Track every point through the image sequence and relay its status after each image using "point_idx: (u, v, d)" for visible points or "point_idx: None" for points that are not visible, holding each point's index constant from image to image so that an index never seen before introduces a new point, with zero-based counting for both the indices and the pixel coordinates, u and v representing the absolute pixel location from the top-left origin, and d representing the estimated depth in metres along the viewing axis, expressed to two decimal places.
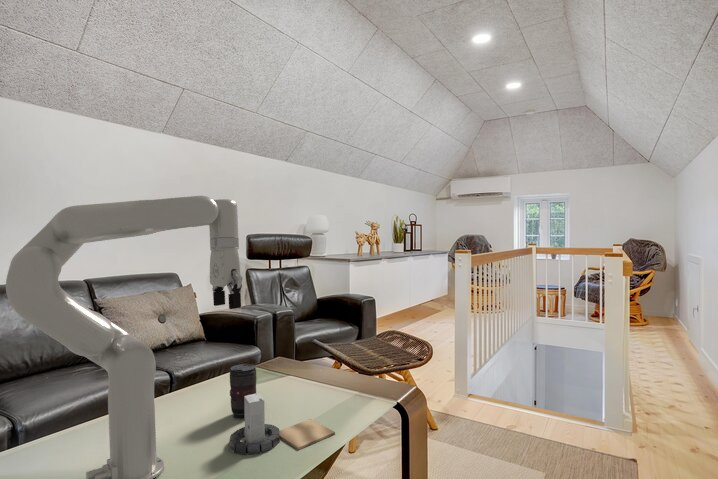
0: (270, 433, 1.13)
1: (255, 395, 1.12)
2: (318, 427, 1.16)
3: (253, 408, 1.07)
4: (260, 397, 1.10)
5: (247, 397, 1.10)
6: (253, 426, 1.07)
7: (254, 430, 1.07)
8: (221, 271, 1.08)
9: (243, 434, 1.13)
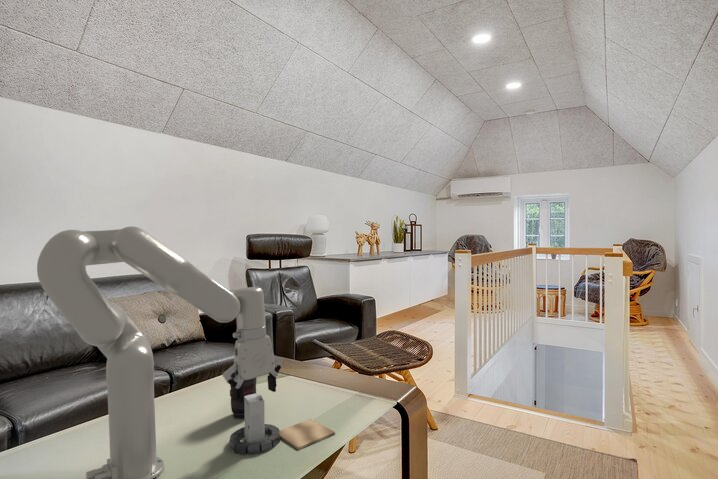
0: (270, 433, 1.13)
1: (255, 395, 1.12)
2: (318, 427, 1.16)
3: (253, 408, 1.07)
4: (260, 397, 1.10)
5: (247, 397, 1.10)
6: (253, 426, 1.07)
7: (254, 430, 1.07)
8: (269, 357, 1.11)
9: (243, 434, 1.13)
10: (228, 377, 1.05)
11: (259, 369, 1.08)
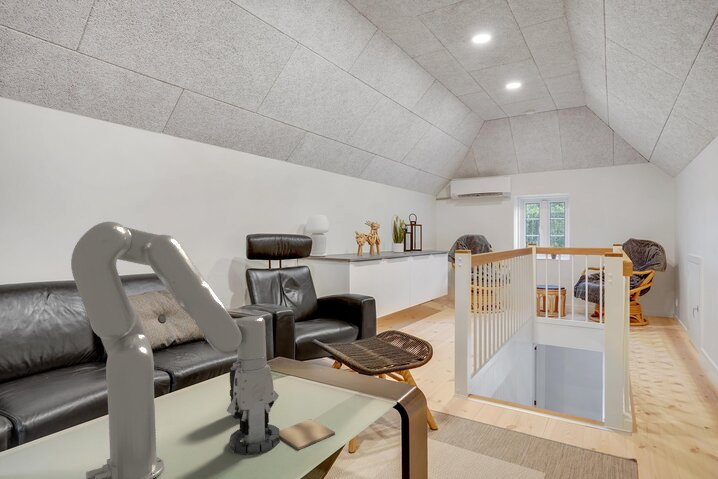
0: (270, 433, 1.13)
1: None
2: (318, 427, 1.16)
3: (253, 408, 1.07)
4: None
5: None
6: (253, 426, 1.07)
7: (254, 430, 1.07)
8: (269, 388, 1.10)
9: (243, 434, 1.13)
10: (233, 411, 1.06)
11: (258, 399, 1.08)
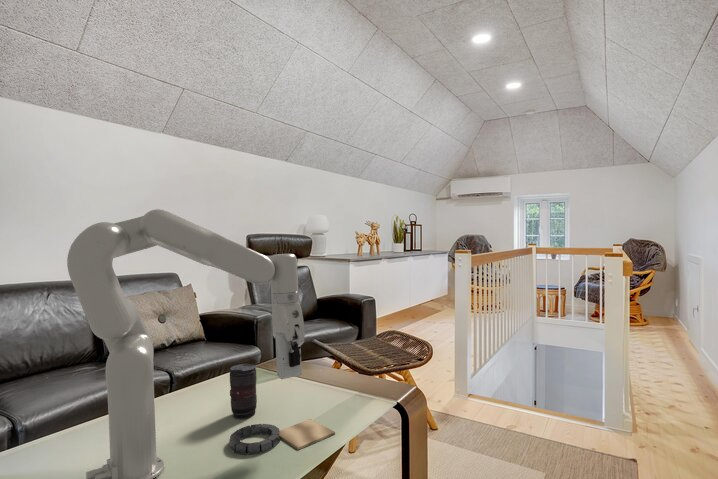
0: (270, 433, 1.13)
1: None
2: (318, 427, 1.16)
3: None
4: None
5: None
6: None
7: None
8: None
9: (243, 434, 1.13)
10: None
11: None
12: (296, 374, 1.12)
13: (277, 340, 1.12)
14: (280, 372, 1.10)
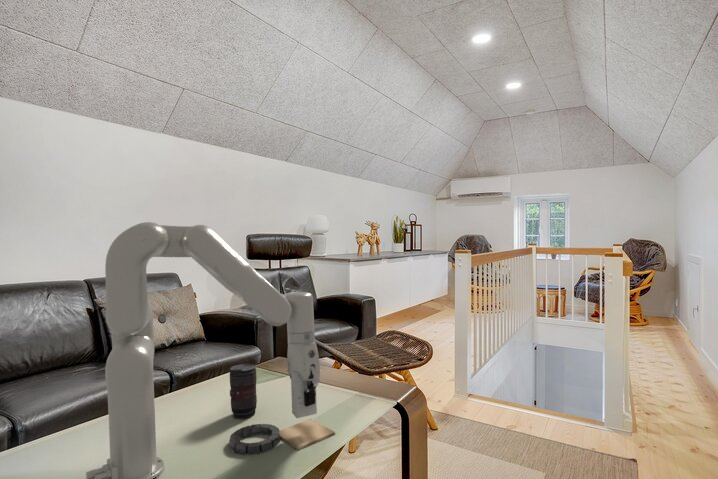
0: (270, 433, 1.13)
1: None
2: (318, 427, 1.16)
3: None
4: None
5: None
6: None
7: None
8: None
9: (243, 434, 1.13)
10: None
11: None
12: (311, 413, 1.12)
13: (293, 378, 1.13)
14: (295, 411, 1.11)
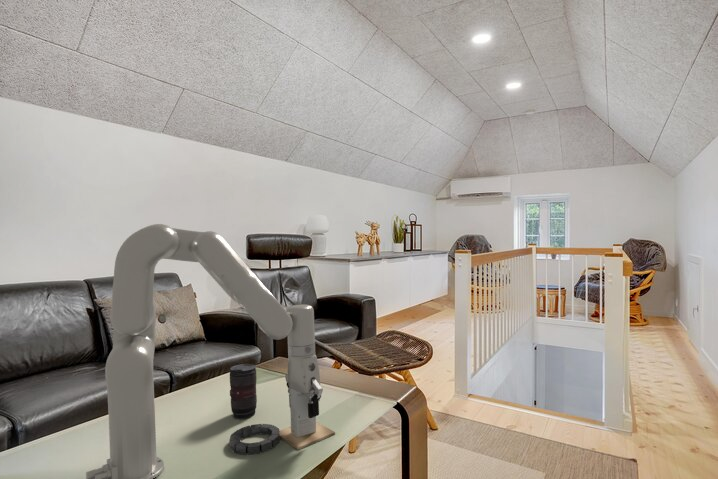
0: (270, 433, 1.13)
1: None
2: (318, 427, 1.16)
3: None
4: None
5: None
6: None
7: None
8: None
9: (243, 434, 1.13)
10: None
11: None
12: (311, 431, 1.13)
13: (292, 397, 1.12)
14: (295, 430, 1.11)
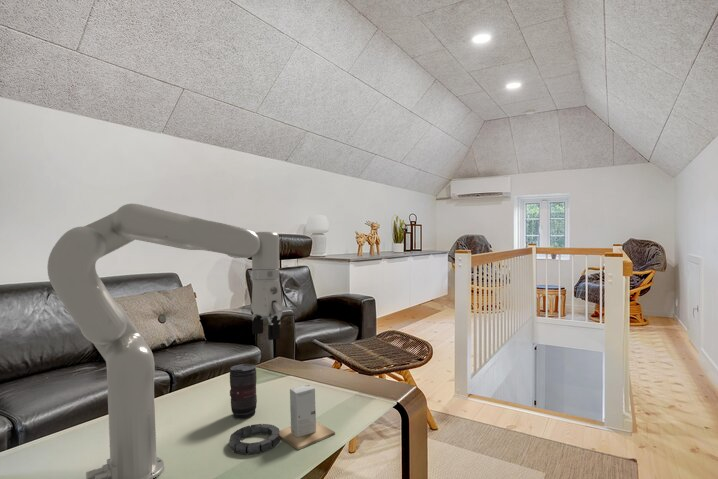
0: (270, 433, 1.13)
1: (297, 388, 1.14)
2: (318, 427, 1.16)
3: None
4: (302, 386, 1.16)
5: (300, 391, 1.12)
6: None
7: None
8: None
9: (243, 434, 1.13)
10: None
11: None
12: (311, 431, 1.13)
13: (292, 397, 1.12)
14: (295, 430, 1.11)
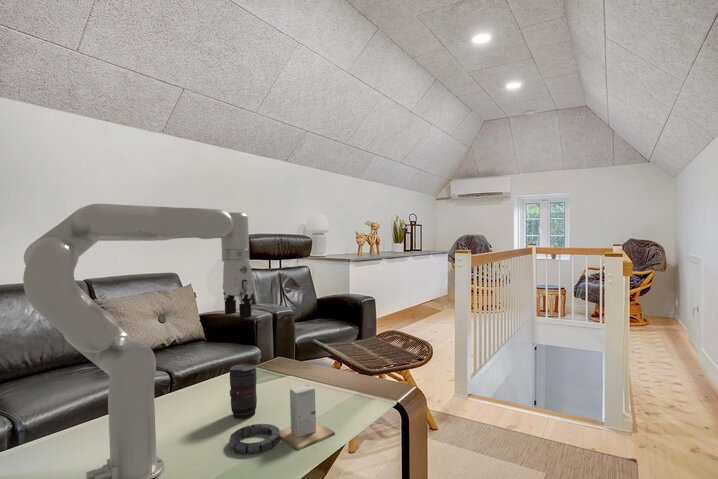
0: (270, 433, 1.13)
1: (297, 388, 1.14)
2: (318, 427, 1.16)
3: None
4: (302, 386, 1.16)
5: (300, 391, 1.12)
6: None
7: None
8: None
9: (243, 434, 1.13)
10: None
11: None
12: (311, 431, 1.13)
13: (292, 397, 1.12)
14: (295, 430, 1.11)
